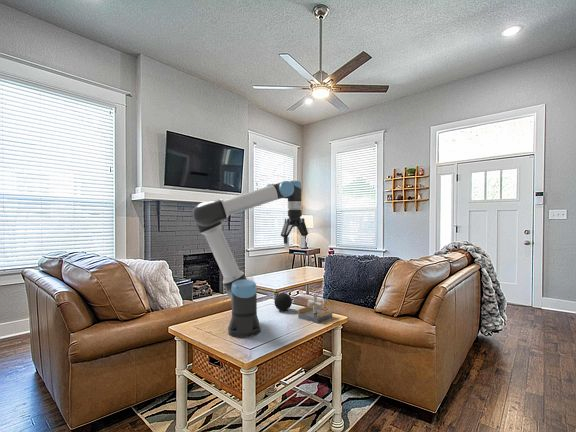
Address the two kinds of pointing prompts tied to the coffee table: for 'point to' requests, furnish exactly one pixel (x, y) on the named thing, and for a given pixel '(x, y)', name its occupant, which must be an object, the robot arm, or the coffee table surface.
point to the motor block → (314, 314)
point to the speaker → (283, 301)
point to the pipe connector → (315, 302)
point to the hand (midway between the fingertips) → (295, 248)
